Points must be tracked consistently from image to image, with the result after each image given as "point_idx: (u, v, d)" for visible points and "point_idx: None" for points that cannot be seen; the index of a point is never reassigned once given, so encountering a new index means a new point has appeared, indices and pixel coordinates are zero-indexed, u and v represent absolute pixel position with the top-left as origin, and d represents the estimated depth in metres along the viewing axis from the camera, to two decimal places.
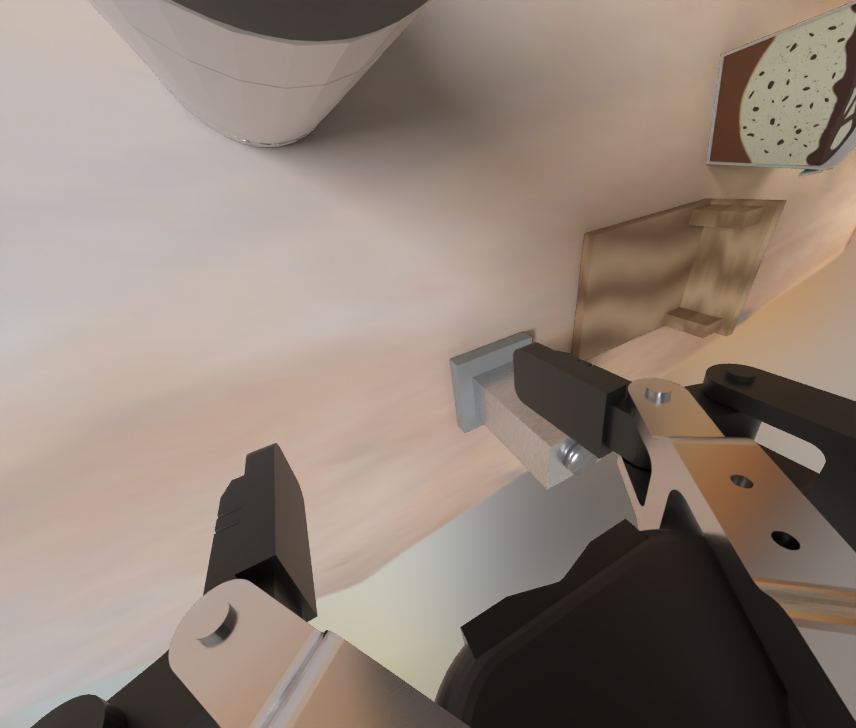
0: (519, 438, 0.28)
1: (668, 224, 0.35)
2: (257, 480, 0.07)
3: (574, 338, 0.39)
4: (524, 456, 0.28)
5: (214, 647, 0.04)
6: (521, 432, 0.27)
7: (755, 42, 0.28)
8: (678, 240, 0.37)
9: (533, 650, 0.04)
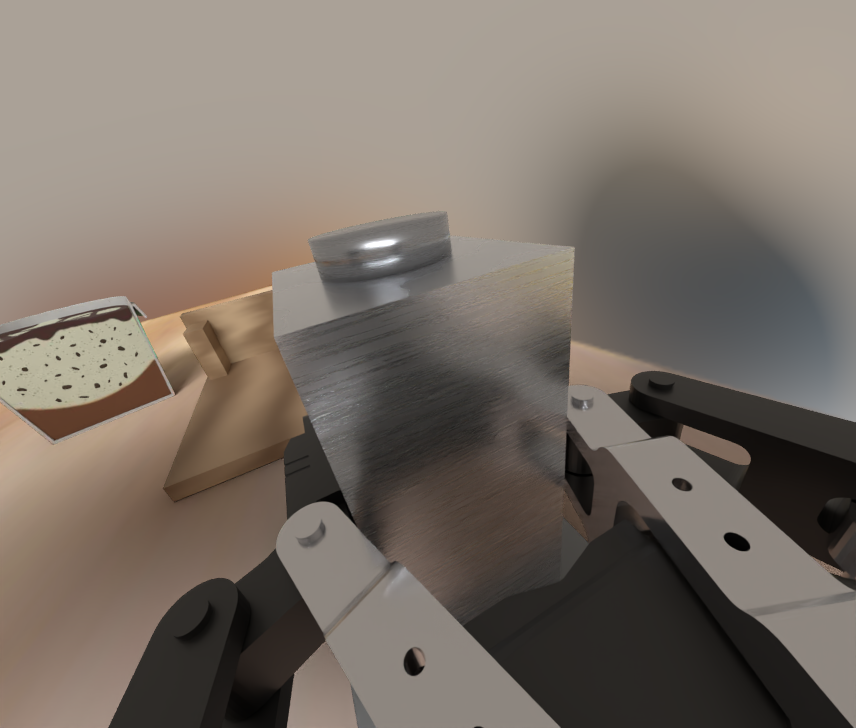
0: (461, 464, 0.06)
1: (213, 394, 0.28)
2: None
3: None
4: (522, 405, 0.07)
5: (315, 545, 0.06)
6: (417, 475, 0.06)
7: (28, 422, 0.27)
8: (242, 374, 0.31)
9: (533, 650, 0.04)
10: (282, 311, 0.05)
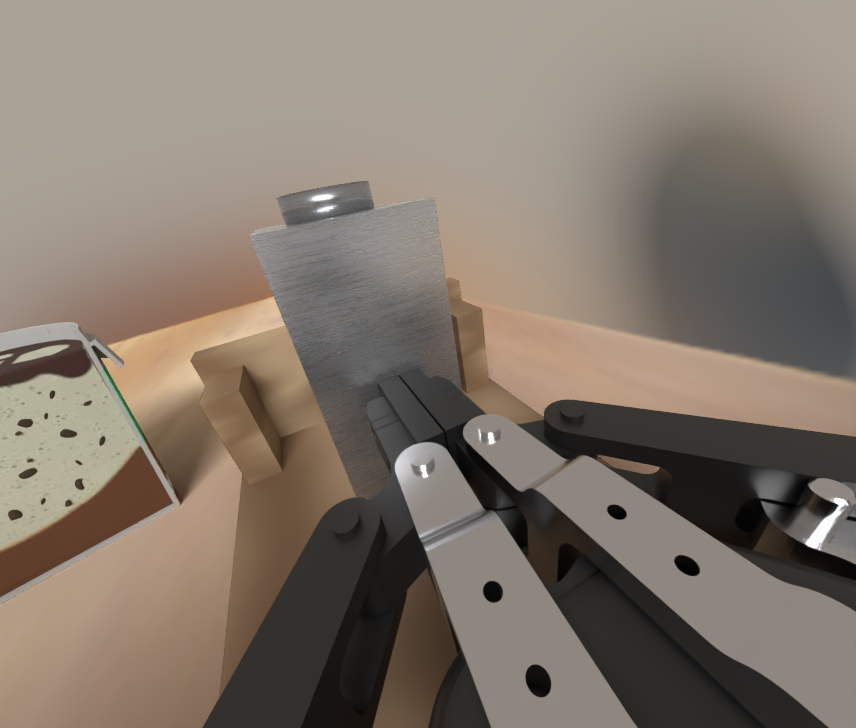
0: (374, 341, 0.10)
1: (266, 538, 0.13)
2: (399, 395, 0.09)
3: None
4: (414, 304, 0.10)
5: (432, 472, 0.06)
6: (343, 342, 0.10)
7: None
8: (313, 473, 0.16)
9: None
10: (256, 232, 0.09)
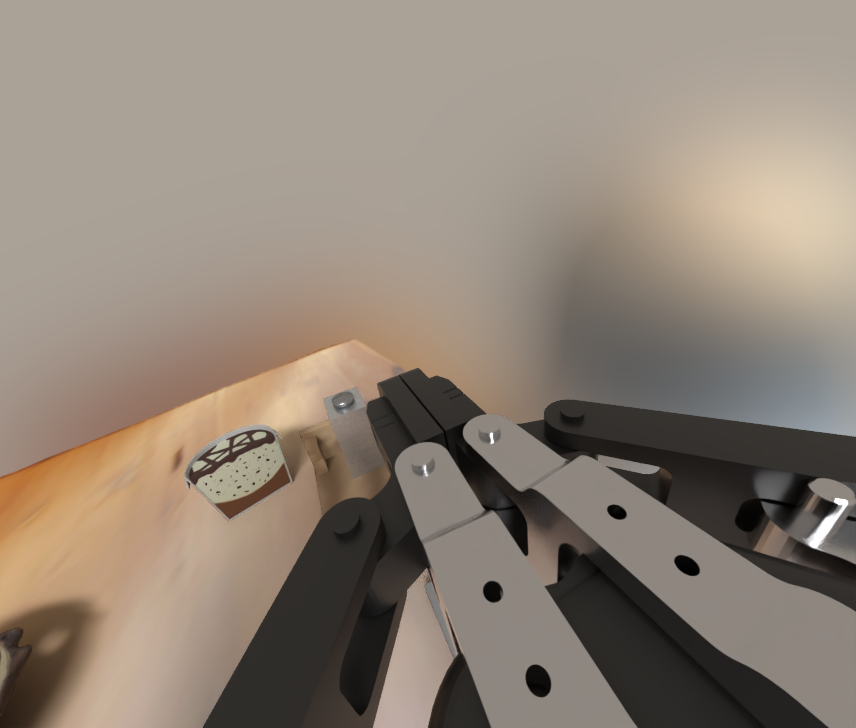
0: (353, 434, 0.44)
1: (327, 490, 0.46)
2: (399, 396, 0.09)
3: None
4: (363, 425, 0.44)
5: (433, 472, 0.06)
6: (346, 435, 0.44)
7: (219, 510, 0.44)
8: (339, 472, 0.49)
9: None
10: (329, 415, 0.43)
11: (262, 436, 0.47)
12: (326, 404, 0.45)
